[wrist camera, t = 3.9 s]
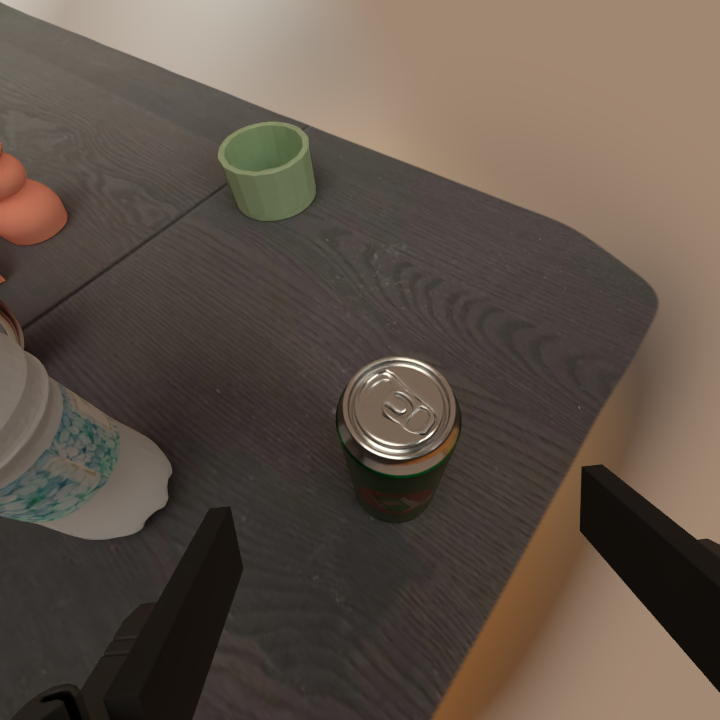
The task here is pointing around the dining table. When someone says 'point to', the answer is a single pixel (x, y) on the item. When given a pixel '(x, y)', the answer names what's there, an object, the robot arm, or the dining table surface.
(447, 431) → the soda can
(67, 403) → the bottle
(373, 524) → the dining table surface
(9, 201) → the pottery
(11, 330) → the alarm clock
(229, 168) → the cup
